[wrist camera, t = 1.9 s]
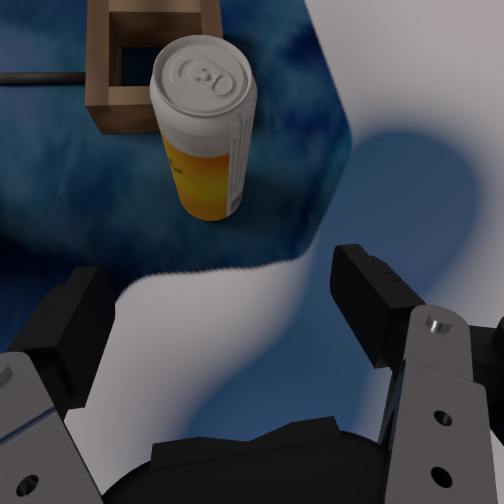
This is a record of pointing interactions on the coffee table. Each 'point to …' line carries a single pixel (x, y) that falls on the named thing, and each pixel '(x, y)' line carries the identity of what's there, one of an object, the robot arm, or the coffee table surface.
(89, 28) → the walnut collar
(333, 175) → the coffee table surface
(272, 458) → the robot arm
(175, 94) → the soda can
